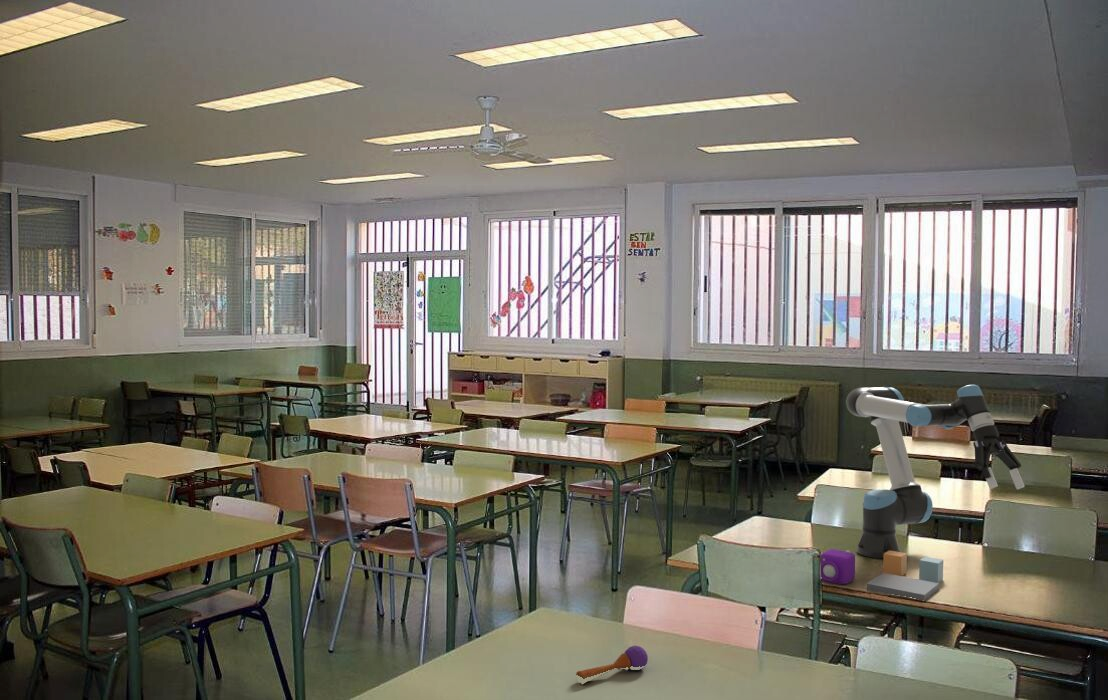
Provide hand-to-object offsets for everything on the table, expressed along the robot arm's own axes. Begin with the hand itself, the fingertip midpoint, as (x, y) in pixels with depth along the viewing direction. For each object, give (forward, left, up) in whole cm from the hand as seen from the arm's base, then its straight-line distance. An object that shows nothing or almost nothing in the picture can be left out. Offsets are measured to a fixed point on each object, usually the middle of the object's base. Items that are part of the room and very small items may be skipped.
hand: (1007, 487), depth 294 cm
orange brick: (-33, -8, -33) cm, 47 cm away
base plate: (-25, -25, -33) cm, 48 cm away
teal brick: (-21, -8, -33) cm, 40 cm away
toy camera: (-45, -31, -33) cm, 64 cm away
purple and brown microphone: (-57, -144, -33) cm, 158 cm away
